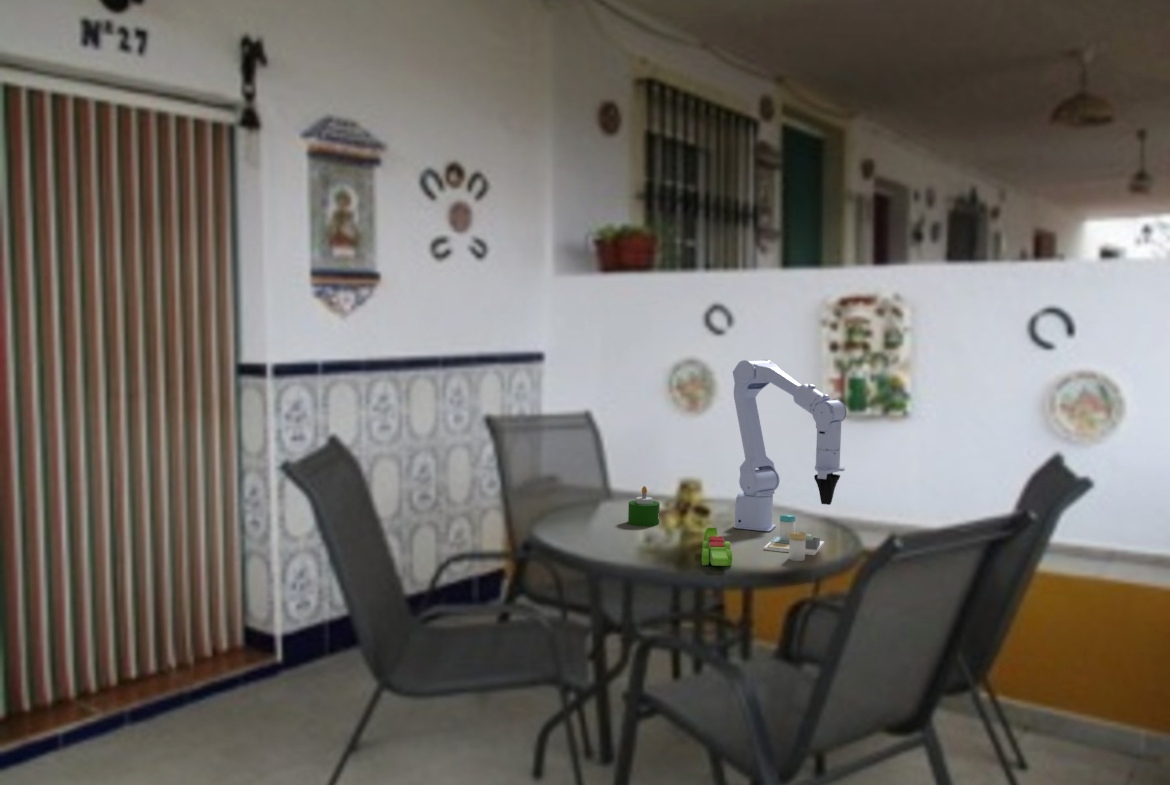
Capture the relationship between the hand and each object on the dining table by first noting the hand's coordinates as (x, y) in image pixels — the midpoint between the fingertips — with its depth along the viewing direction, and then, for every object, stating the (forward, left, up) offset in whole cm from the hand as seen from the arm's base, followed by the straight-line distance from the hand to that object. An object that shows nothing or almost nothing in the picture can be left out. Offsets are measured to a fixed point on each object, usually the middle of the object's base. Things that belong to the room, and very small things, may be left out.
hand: (826, 503), depth 245 cm
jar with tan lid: (-3, -20, -10) cm, 22 cm away
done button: (-2, -9, -8) cm, 12 cm away
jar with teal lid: (-8, -5, -9) cm, 13 cm away
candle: (-48, +1, -10) cm, 49 cm away
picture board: (-6, -8, -10) cm, 14 cm away
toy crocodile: (-19, -30, -10) cm, 37 cm away
